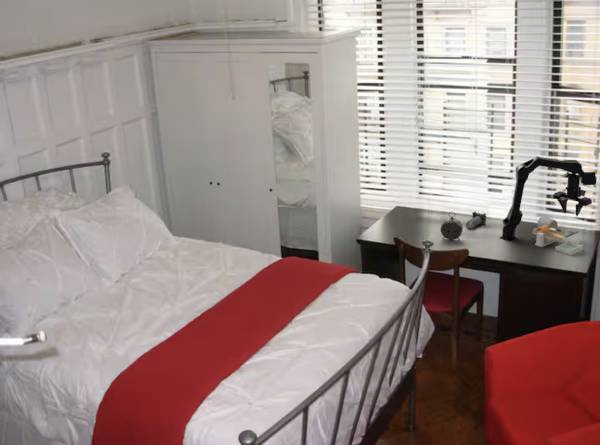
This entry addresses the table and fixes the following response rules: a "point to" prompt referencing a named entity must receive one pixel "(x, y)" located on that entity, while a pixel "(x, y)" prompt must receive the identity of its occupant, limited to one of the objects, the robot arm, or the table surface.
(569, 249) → the tray
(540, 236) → the stand
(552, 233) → the lever
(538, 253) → the table surface
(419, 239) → the table surface
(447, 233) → the alarm clock
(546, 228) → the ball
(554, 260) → the table surface
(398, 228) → the table surface
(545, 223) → the ceramic mug
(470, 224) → the camera
